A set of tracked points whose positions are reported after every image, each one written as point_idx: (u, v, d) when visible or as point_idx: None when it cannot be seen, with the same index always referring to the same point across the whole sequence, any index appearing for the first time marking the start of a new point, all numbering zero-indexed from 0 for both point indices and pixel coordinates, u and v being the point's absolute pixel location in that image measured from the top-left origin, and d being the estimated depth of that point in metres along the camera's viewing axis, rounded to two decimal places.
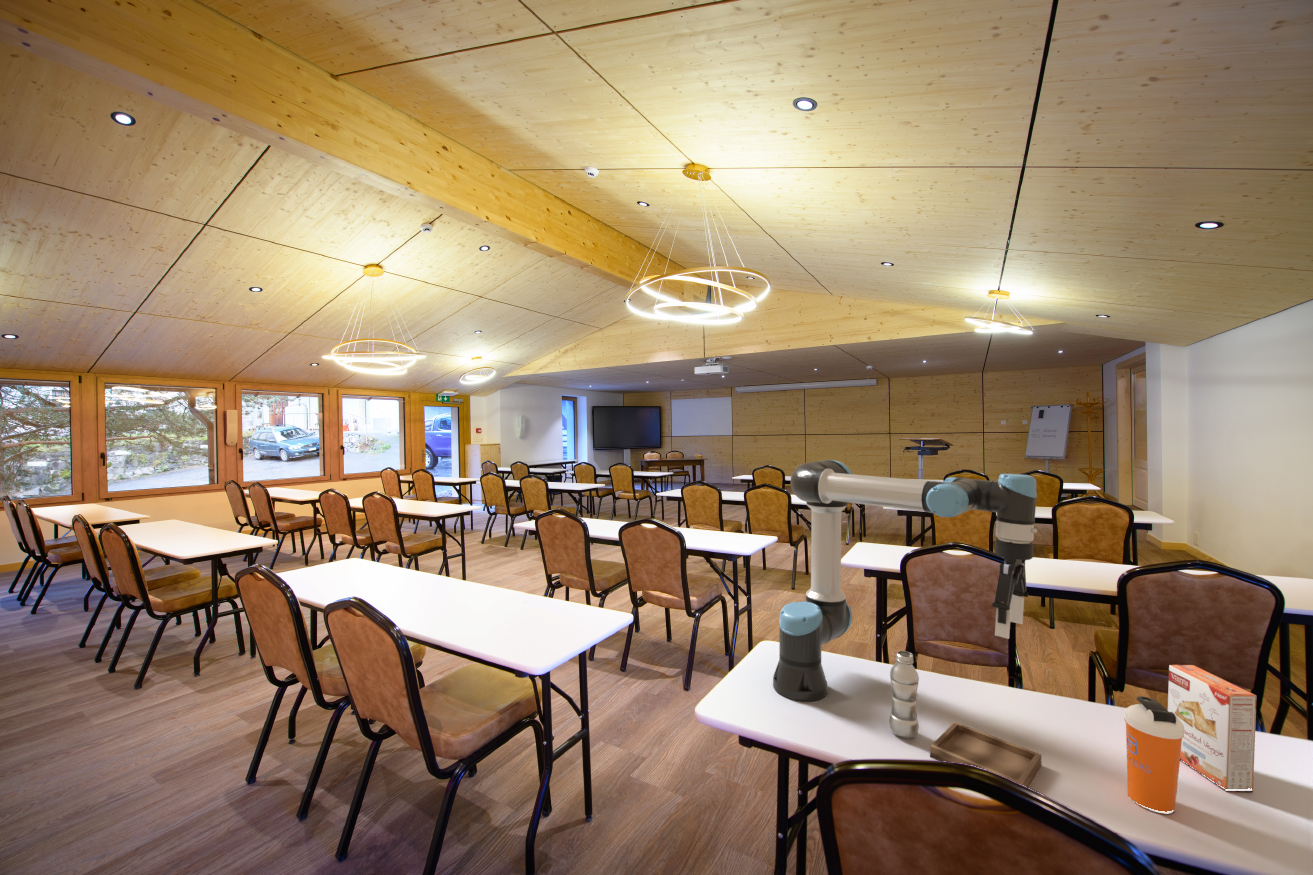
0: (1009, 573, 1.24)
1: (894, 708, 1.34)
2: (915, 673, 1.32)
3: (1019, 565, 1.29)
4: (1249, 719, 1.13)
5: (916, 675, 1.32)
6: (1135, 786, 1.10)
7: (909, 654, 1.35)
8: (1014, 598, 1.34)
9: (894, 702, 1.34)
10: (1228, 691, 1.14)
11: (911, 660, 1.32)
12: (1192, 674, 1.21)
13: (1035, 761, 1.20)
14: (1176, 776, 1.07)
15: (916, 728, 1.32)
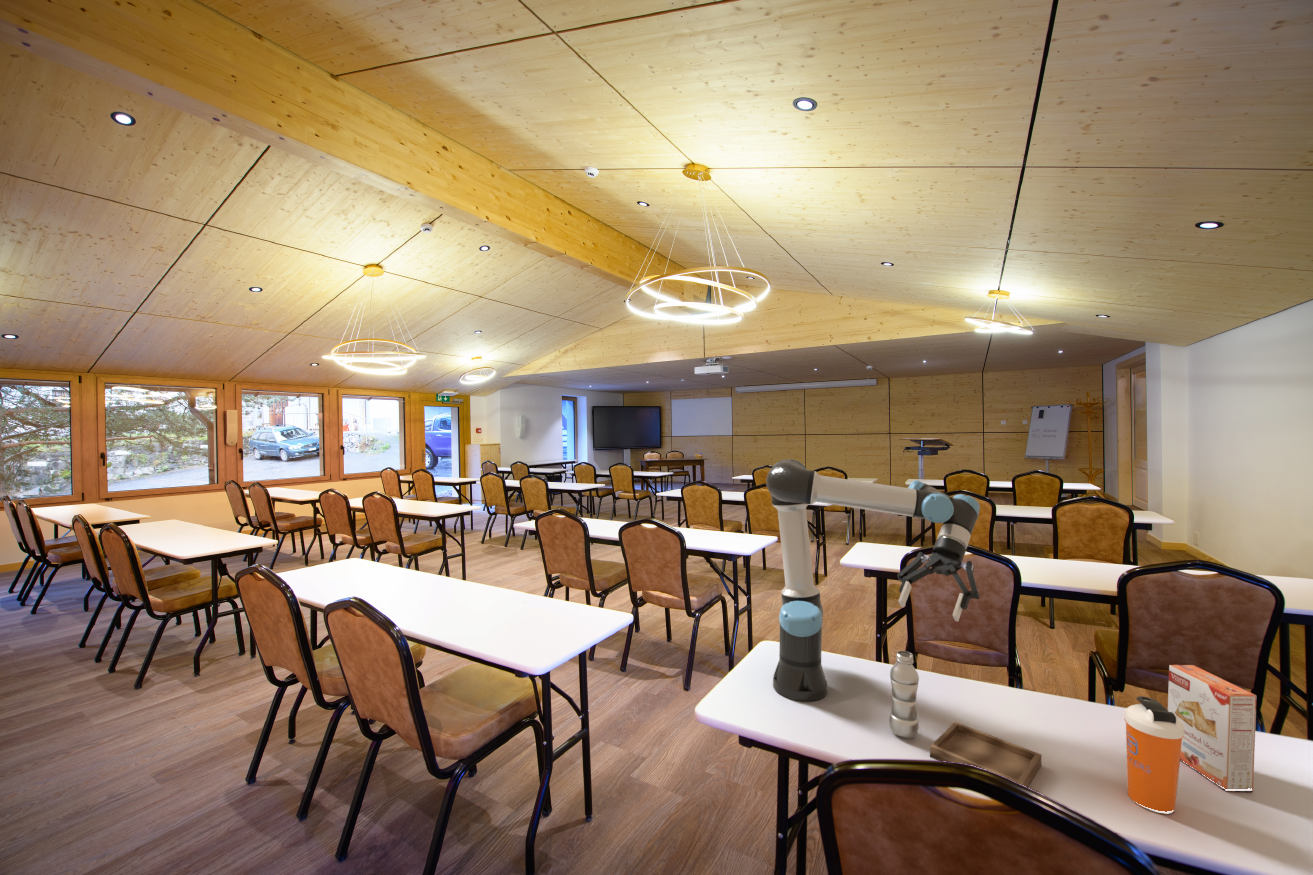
0: (972, 571, 1.43)
1: (894, 708, 1.34)
2: (915, 673, 1.32)
3: None
4: (1249, 719, 1.13)
5: (916, 675, 1.32)
6: (1135, 786, 1.10)
7: (909, 654, 1.35)
8: (909, 585, 1.49)
9: (894, 702, 1.34)
10: (1228, 691, 1.14)
11: (911, 660, 1.32)
12: (1192, 674, 1.21)
13: (1035, 761, 1.20)
14: (1176, 776, 1.07)
15: (916, 728, 1.32)
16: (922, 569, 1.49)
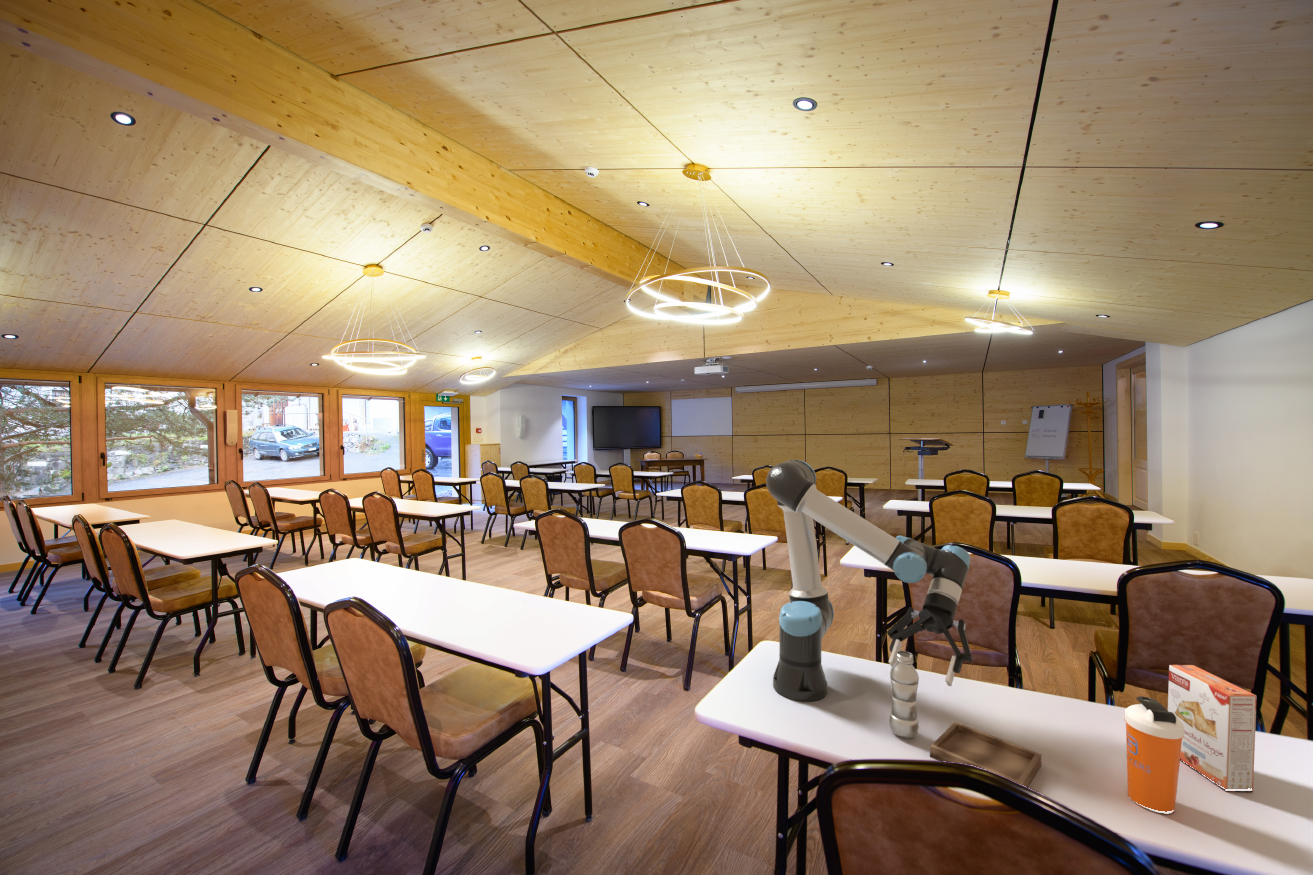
0: (965, 630, 1.38)
1: (894, 708, 1.34)
2: (915, 673, 1.32)
3: None
4: (1249, 719, 1.13)
5: (916, 675, 1.32)
6: (1135, 786, 1.10)
7: (909, 654, 1.35)
8: (899, 643, 1.43)
9: (894, 702, 1.34)
10: (1228, 691, 1.14)
11: (911, 660, 1.32)
12: (1192, 674, 1.21)
13: (1035, 761, 1.20)
14: (1176, 776, 1.07)
15: (916, 728, 1.32)
16: (913, 627, 1.43)
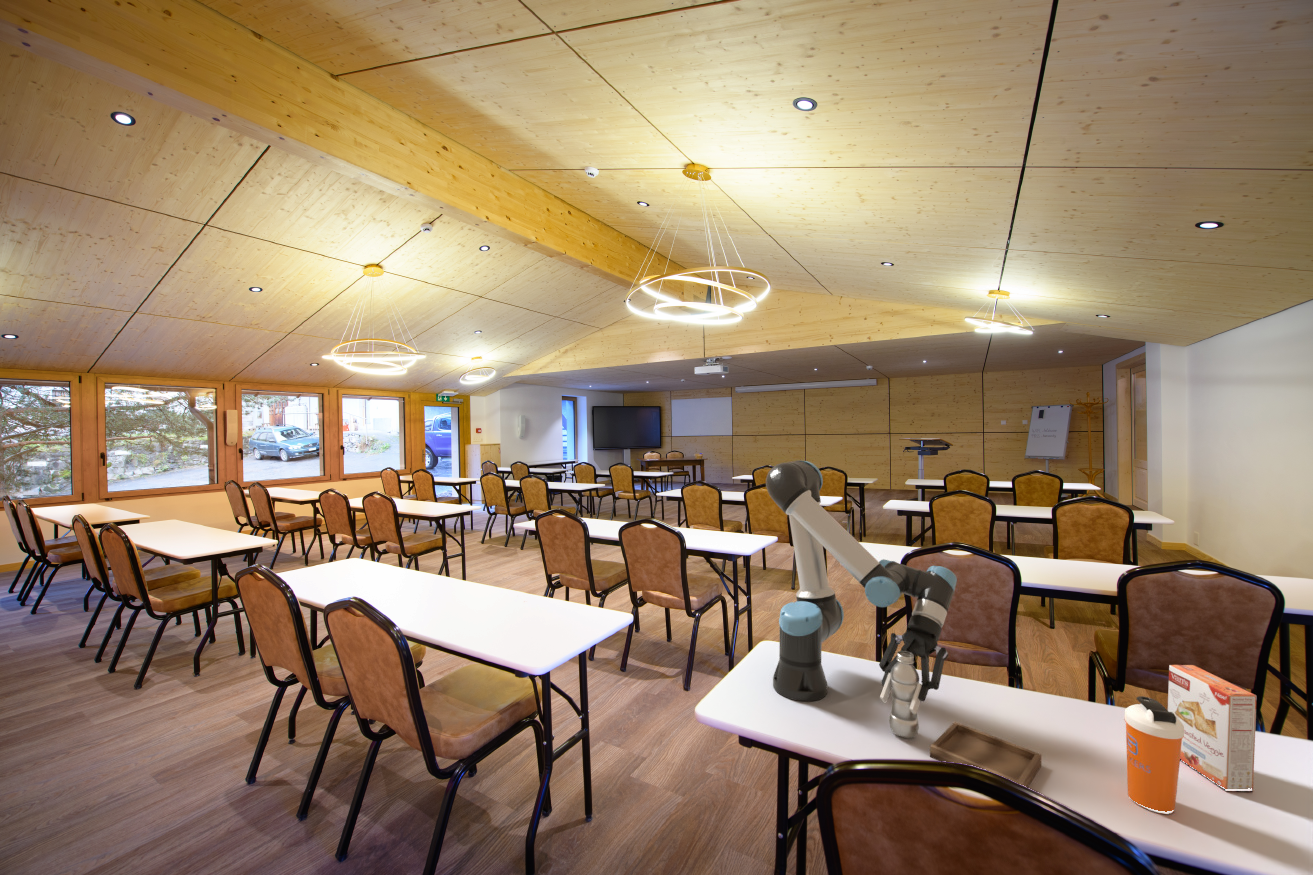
0: (944, 658, 1.34)
1: (894, 708, 1.34)
2: (916, 673, 1.32)
3: None
4: (1249, 719, 1.13)
5: (916, 675, 1.32)
6: (1135, 786, 1.10)
7: (910, 654, 1.35)
8: None
9: (894, 702, 1.34)
10: (1228, 691, 1.14)
11: (912, 660, 1.32)
12: (1192, 674, 1.21)
13: (1035, 761, 1.20)
14: (1176, 776, 1.07)
15: (916, 728, 1.32)
16: None
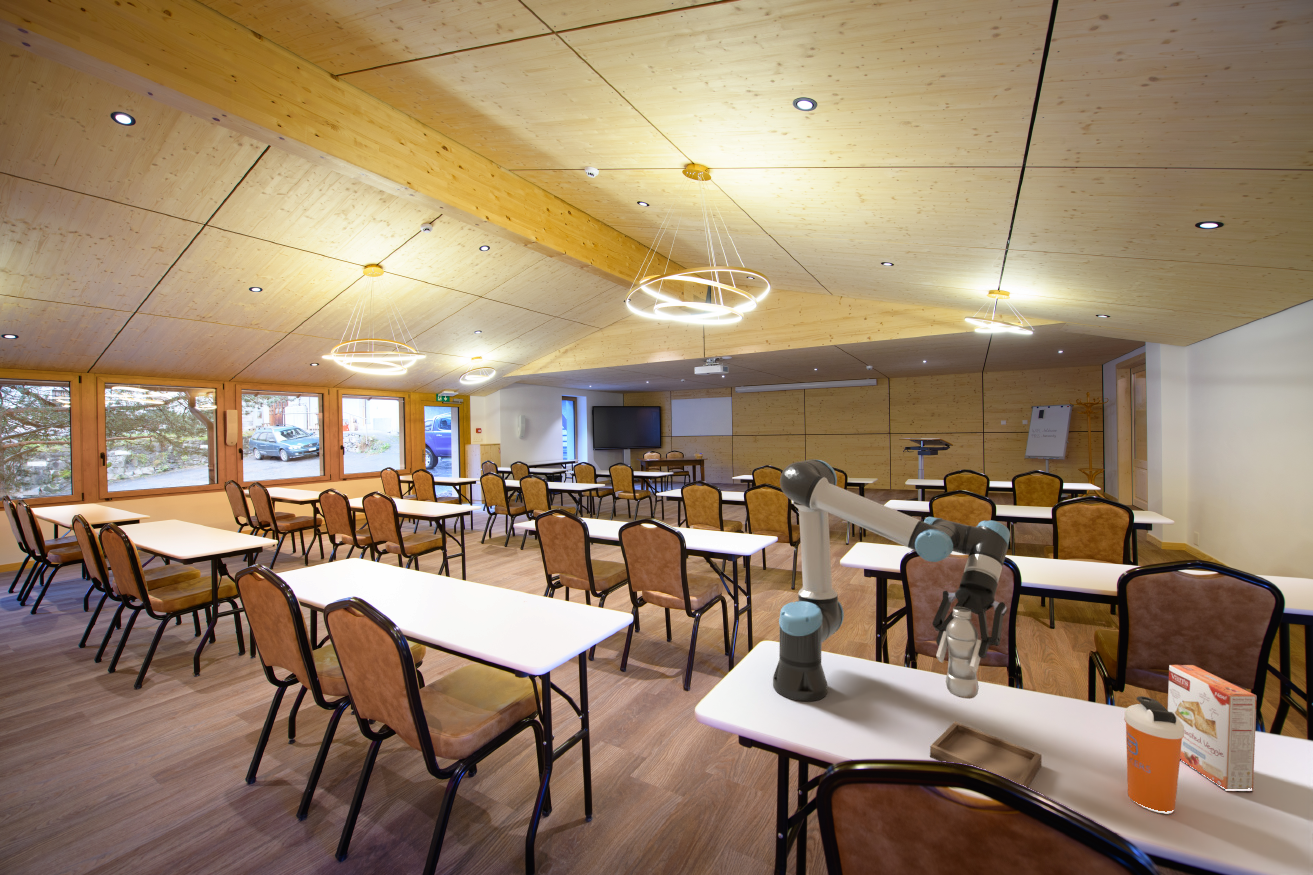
0: (1003, 614, 1.26)
1: (951, 667, 1.26)
2: (974, 629, 1.24)
3: None
4: (1249, 719, 1.13)
5: (975, 631, 1.24)
6: (1135, 786, 1.10)
7: (966, 610, 1.27)
8: None
9: (951, 661, 1.26)
10: (1228, 691, 1.14)
11: (969, 615, 1.24)
12: (1192, 674, 1.21)
13: (1035, 761, 1.20)
14: (1176, 776, 1.07)
15: (976, 687, 1.24)
16: None
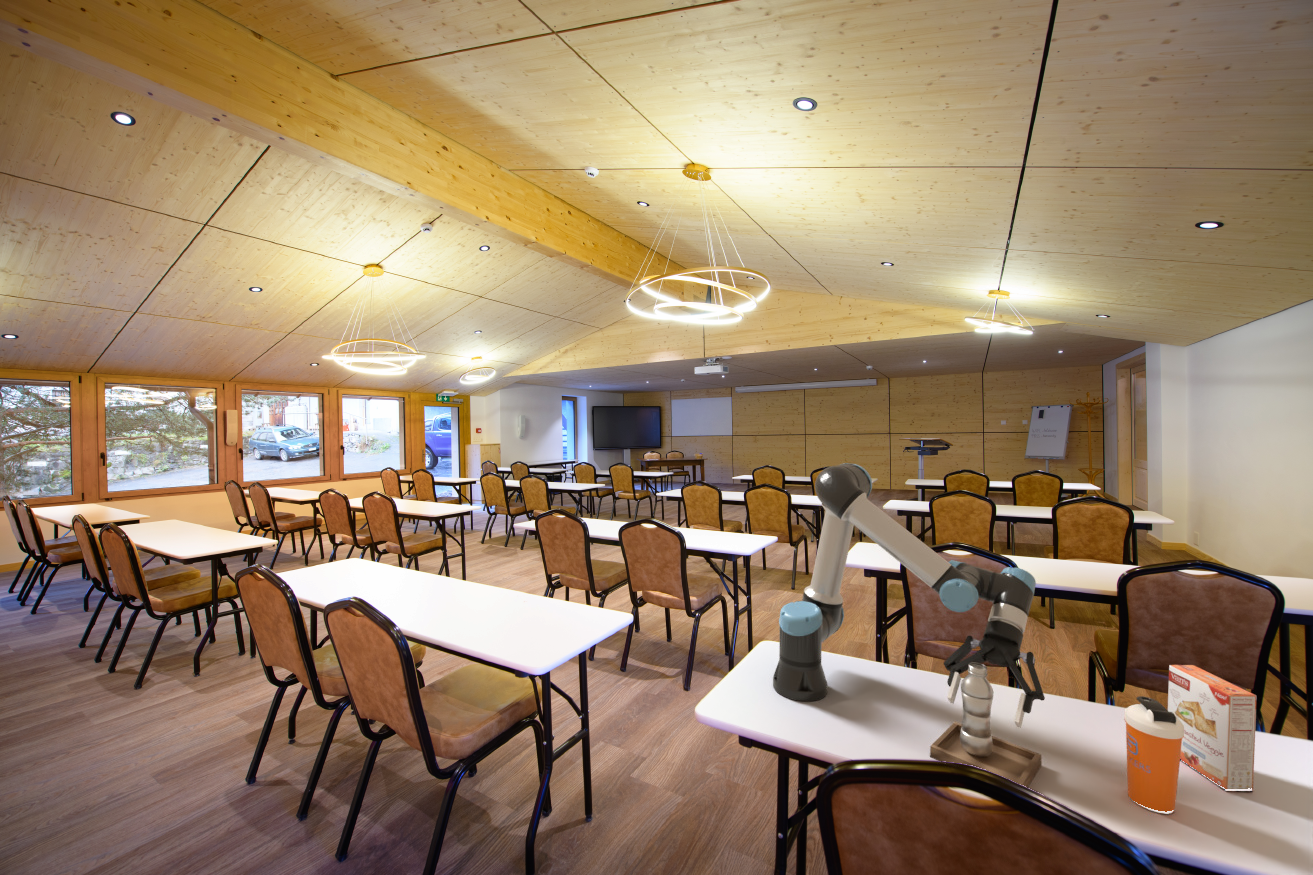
0: (1034, 664, 1.24)
1: (965, 724, 1.25)
2: (990, 687, 1.23)
3: None
4: (1249, 719, 1.13)
5: (991, 689, 1.23)
6: (1135, 786, 1.10)
7: (982, 666, 1.26)
8: (958, 676, 1.29)
9: (965, 718, 1.25)
10: (1228, 691, 1.14)
11: (985, 672, 1.24)
12: (1192, 674, 1.21)
13: (1035, 761, 1.20)
14: (1176, 776, 1.07)
15: (991, 746, 1.23)
16: (973, 658, 1.29)
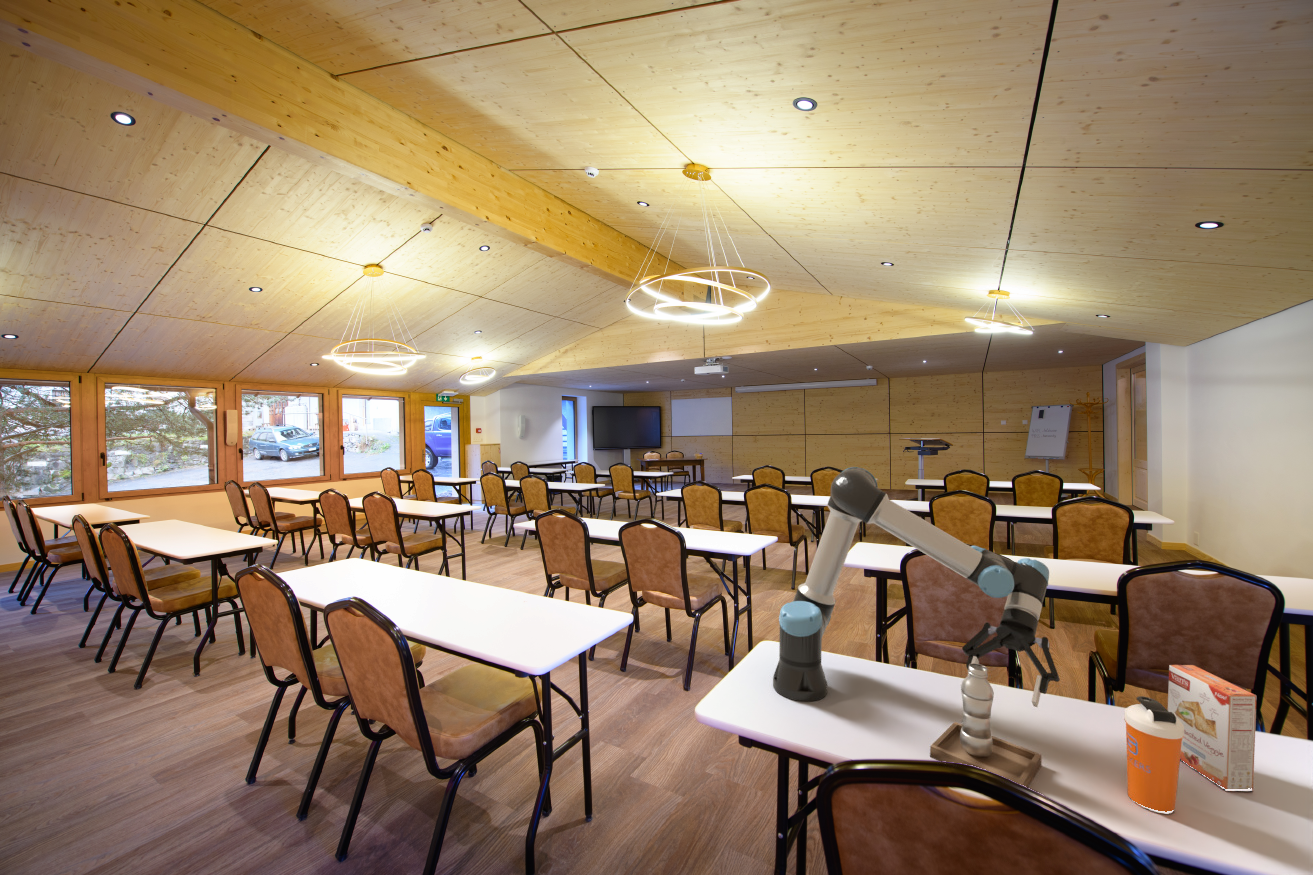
0: (1048, 648, 1.32)
1: (965, 725, 1.25)
2: (990, 688, 1.23)
3: None
4: (1249, 719, 1.13)
5: (991, 690, 1.23)
6: (1135, 786, 1.10)
7: (982, 667, 1.25)
8: (976, 660, 1.37)
9: (965, 718, 1.25)
10: (1228, 691, 1.14)
11: (986, 674, 1.23)
12: (1192, 674, 1.21)
13: (1035, 761, 1.20)
14: (1176, 776, 1.07)
15: (991, 747, 1.23)
16: (991, 643, 1.38)
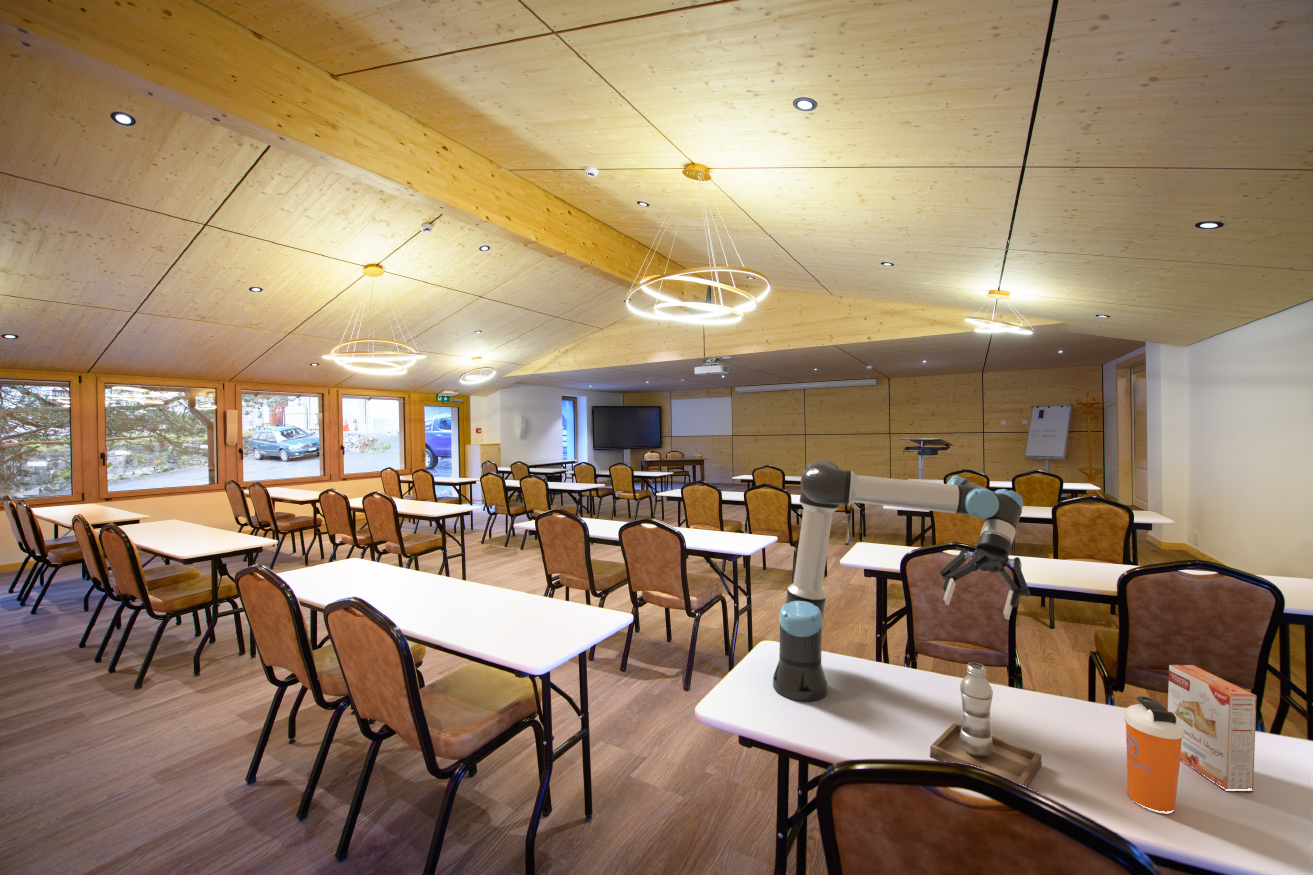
0: (1020, 567, 1.39)
1: (965, 724, 1.25)
2: (989, 687, 1.23)
3: None
4: (1249, 719, 1.13)
5: (990, 689, 1.23)
6: (1135, 786, 1.10)
7: (981, 666, 1.26)
8: (953, 582, 1.44)
9: (965, 718, 1.25)
10: (1228, 691, 1.14)
11: (984, 673, 1.23)
12: (1192, 674, 1.21)
13: (1035, 761, 1.20)
14: (1176, 776, 1.07)
15: (990, 746, 1.23)
16: (967, 566, 1.45)
